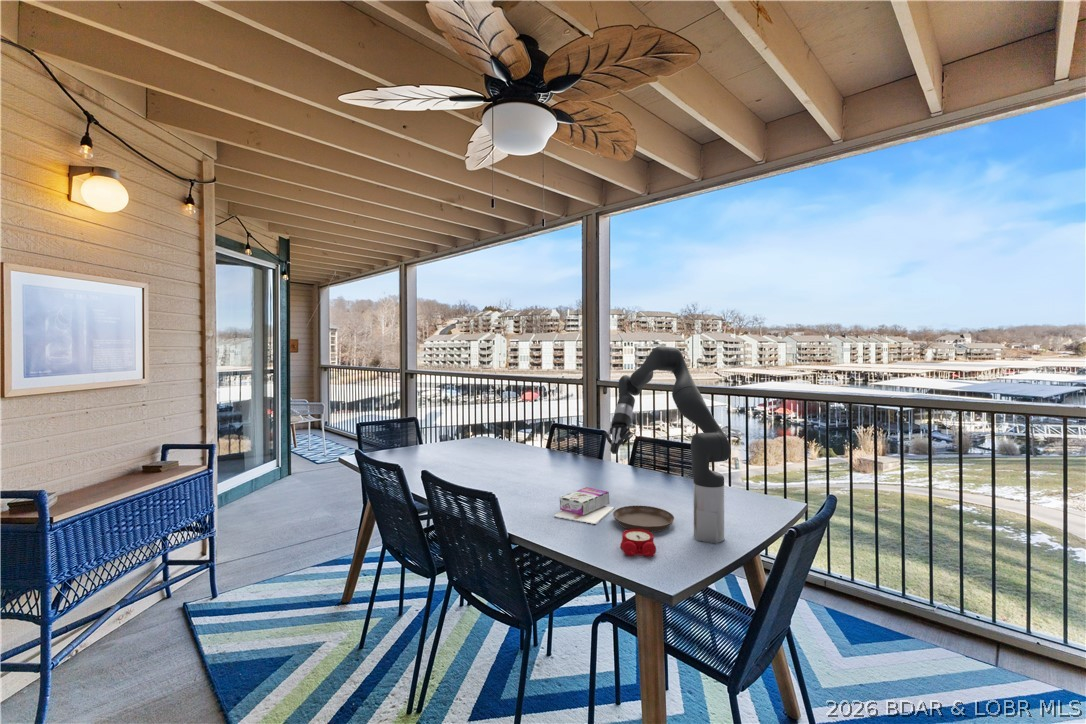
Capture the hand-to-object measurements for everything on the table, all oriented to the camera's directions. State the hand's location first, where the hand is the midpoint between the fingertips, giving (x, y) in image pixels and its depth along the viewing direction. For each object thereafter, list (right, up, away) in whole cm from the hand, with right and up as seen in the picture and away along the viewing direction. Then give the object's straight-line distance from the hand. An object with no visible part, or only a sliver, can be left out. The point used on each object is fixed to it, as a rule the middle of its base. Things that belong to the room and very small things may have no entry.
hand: (613, 453), depth 188 cm
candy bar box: (-7, -15, -6) cm, 18 cm away
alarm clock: (0, -20, -48) cm, 52 cm away
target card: (-13, -19, -16) cm, 28 cm away
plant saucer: (+6, -19, -27) cm, 34 cm away
